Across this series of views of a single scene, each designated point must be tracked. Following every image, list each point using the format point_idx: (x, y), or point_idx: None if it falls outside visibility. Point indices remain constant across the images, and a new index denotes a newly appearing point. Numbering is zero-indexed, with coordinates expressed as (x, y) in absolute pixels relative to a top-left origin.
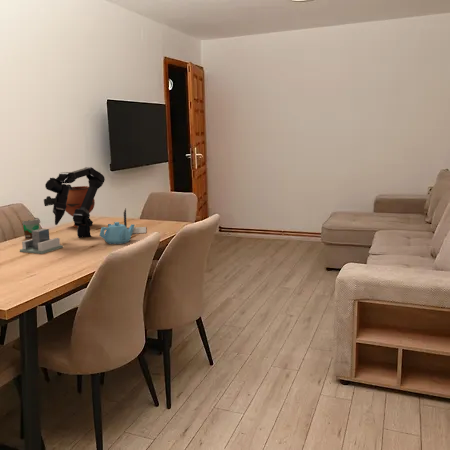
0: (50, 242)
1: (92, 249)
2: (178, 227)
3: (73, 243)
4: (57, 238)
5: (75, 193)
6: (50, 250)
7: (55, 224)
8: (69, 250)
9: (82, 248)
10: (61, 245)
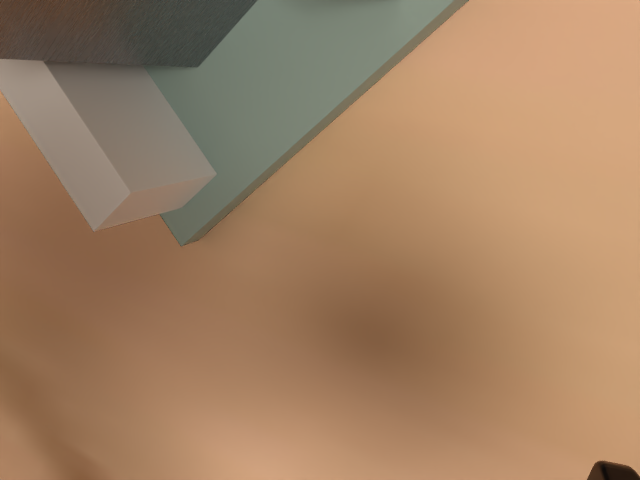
0: None
1: (8, 441)
2: None
3: (362, 442)
4: (75, 194)
5: None
6: None
7: (591, 471)
8: (37, 251)
9: (70, 393)
10: (183, 228)
